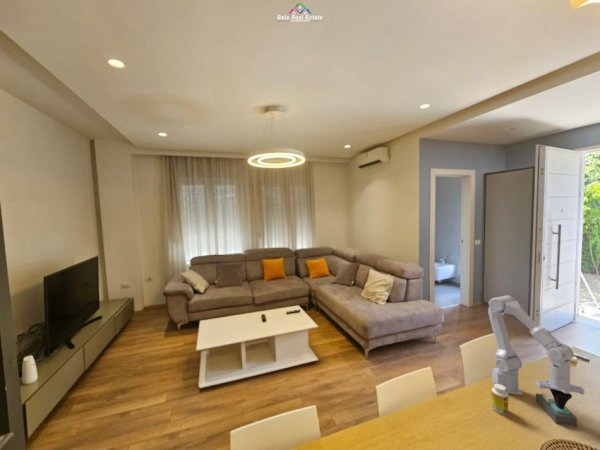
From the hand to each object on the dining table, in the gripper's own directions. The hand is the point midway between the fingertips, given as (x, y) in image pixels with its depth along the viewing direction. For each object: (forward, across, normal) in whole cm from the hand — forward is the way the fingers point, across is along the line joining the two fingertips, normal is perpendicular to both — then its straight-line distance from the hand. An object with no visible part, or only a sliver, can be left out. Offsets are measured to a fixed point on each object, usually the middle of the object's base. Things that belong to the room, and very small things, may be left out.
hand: (559, 407), depth 103 cm
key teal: (+2, 0, 0) cm, 2 cm away
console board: (+4, 0, +3) cm, 5 cm away
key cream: (+1, 0, +6) cm, 6 cm away
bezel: (+4, 0, +3) cm, 5 cm away
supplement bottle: (+5, -21, -1) cm, 22 cm away
